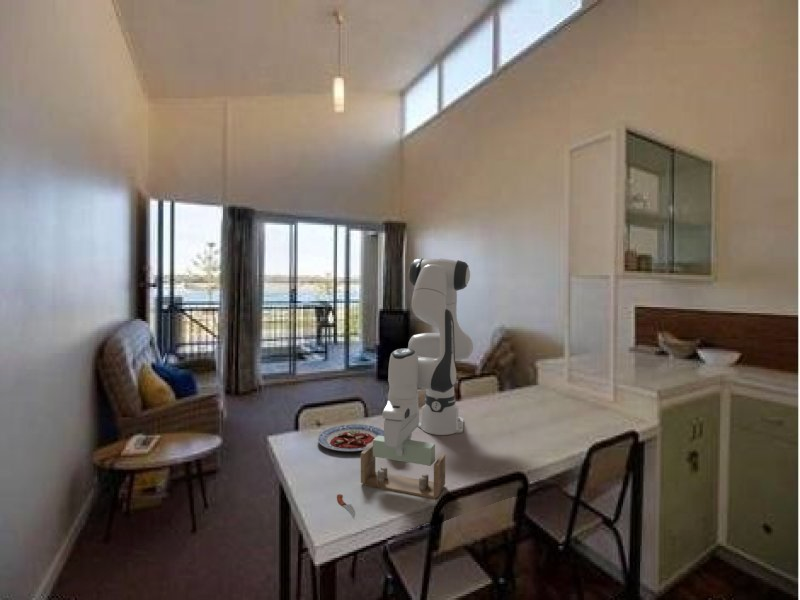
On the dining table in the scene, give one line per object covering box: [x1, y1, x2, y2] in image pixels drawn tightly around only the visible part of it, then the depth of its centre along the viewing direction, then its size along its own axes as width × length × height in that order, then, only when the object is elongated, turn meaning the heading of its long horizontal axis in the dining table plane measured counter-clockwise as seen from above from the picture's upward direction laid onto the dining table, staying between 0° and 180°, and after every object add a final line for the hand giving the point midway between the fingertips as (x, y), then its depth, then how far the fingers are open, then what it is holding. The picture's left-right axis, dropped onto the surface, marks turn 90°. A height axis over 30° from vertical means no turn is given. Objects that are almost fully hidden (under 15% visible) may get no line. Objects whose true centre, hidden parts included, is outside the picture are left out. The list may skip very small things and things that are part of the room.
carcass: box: [360, 443, 446, 500], centre depth 127 cm, size 8×24×10 cm, turn 70°
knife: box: [336, 493, 357, 520], centre depth 116 cm, size 13×1×3 cm
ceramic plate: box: [317, 423, 384, 452], centre depth 161 cm, size 26×26×3 cm
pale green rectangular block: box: [373, 435, 436, 467], centre depth 127 cm, size 4×18×5 cm, turn 69°
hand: (403, 451), depth 127 cm, fingers closed on pale green rectangular block, 4 cm apart
